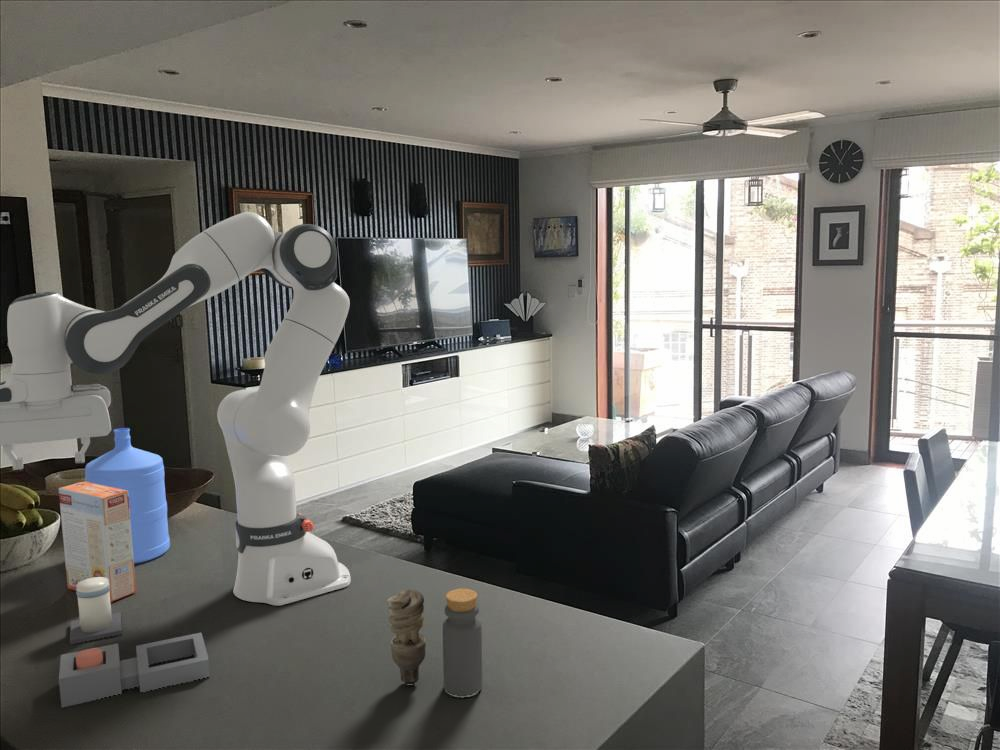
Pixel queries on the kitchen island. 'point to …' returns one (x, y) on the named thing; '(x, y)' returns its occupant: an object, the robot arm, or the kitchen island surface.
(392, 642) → the light bulb
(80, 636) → the pad
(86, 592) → the cartridge
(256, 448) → the robot arm
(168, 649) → the housing
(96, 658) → the plunger
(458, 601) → the bottle
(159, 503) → the water jug
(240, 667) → the kitchen island surface
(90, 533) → the cracker box
